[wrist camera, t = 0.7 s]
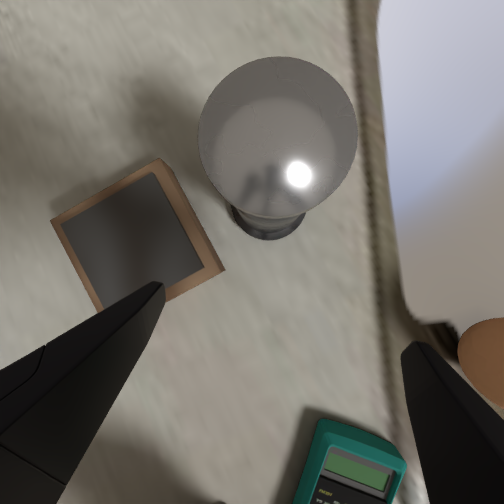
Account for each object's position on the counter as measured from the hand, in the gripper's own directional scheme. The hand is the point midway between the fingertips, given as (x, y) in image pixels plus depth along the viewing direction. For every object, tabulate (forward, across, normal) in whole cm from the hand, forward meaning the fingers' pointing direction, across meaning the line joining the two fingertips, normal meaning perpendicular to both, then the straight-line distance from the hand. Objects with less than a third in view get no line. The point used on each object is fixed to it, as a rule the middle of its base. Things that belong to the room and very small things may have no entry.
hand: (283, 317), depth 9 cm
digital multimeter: (0, -10, +24) cm, 26 cm away
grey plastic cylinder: (+15, +2, +3) cm, 15 cm away
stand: (+11, +12, +8) cm, 18 cm away
